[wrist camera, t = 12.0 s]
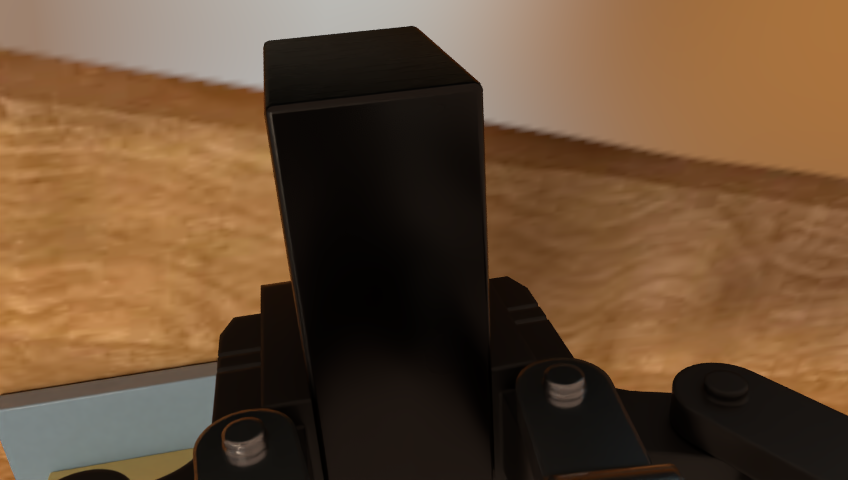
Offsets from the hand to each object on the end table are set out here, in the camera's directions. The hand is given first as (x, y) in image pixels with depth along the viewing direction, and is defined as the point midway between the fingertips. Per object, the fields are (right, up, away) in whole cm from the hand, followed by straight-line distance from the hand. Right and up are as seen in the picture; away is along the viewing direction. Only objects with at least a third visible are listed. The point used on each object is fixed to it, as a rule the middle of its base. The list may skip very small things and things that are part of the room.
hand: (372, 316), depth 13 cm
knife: (0, -4, +2) cm, 5 cm away
